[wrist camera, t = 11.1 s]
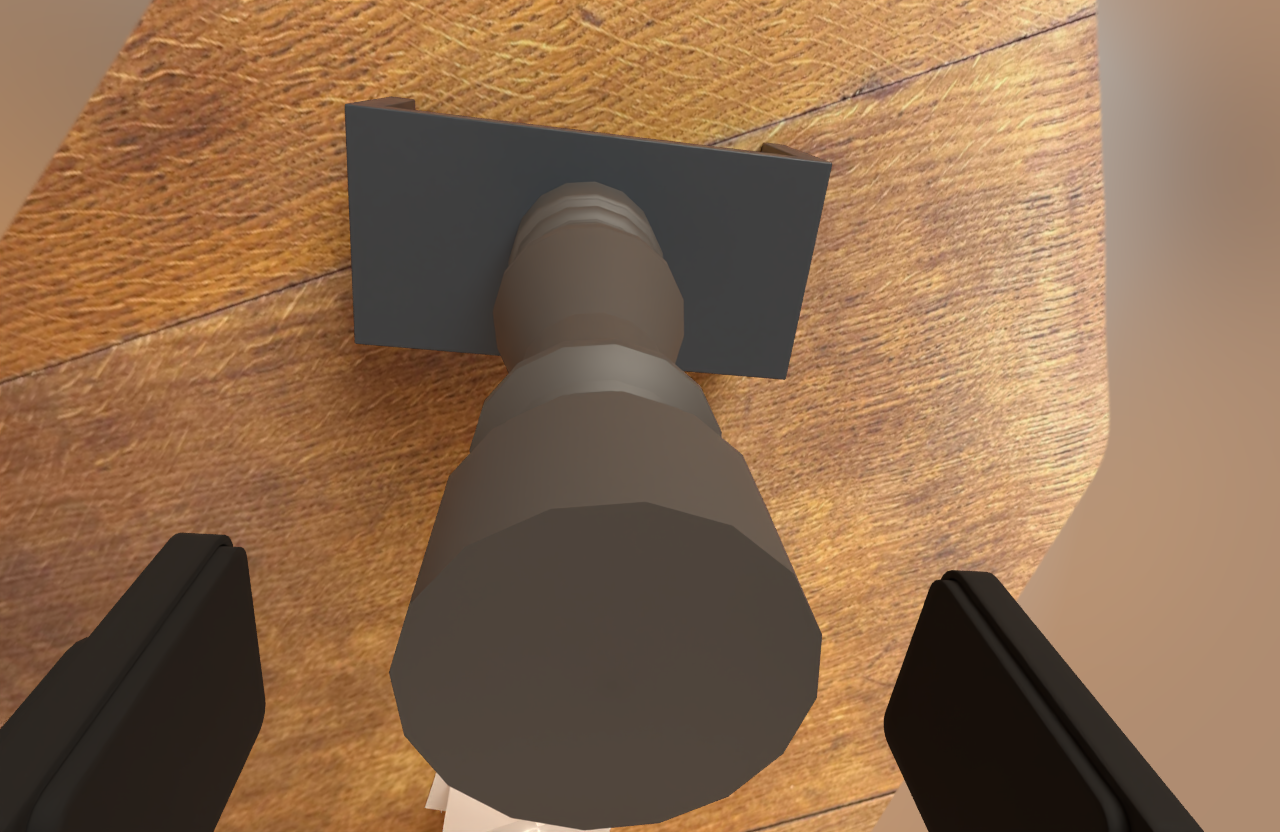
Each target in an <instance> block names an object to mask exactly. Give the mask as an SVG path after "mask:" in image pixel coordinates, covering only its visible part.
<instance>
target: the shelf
mask: <svg viewBox="0 0 1280 832" xmlns="http://www.w3.org/2000/svg"><path fill="white" fill-rule="evenodd" d="M345 125H346V149H347V173H348V196H349V220H350V243H351V267H352V290H353V314H354V337H355V343H356V344H365V345H377V346H389V347H401V348H413V349H425V350H437V351H449V352H461V353H473V354H485V355H496V356H501V355H500V353H499V350H498V348H497V342H496V334H495V326H494V319H493V308H494V305H495V302H496V298H497V295H498V291H499V288H500V285H501V281H502V278H503V275H504V272H505V270H506V269H507V268H508V267H509V265H508V261H509V258H510V255H511V251H512V248H513V244H514V241H515V238H516V234H517V231H518V228H519V226H520V223H521V220H522V217H523V216H524V215H525V214H526V213H527V211H528V210H529V209H530V208H531V207H532V205H533V204H534V203H535V202H536V201H537V200H538V198H539V197H540V196H541V195H543V194H545V193H547V192H549V191H551V190H553V189H555V188H557V187H559V186H561V185H563V184H565V183H576V182H598V183H601V184H603V185H606V186H609V187H611V188H614V189H617V190H620V191H622V192H623V193H625V194H626V195H627V196H628V197H629V198H630V199H631V200H632V201H633V202H634V203H635V204H636V205H637V206H638V207H639V208H641V209H642V210H643V211H644V214H645V216H646V218H647V220H648V222H649V224H650V226H651V228H652V231H653V233H654V235H655V237H656V239H657V242H658V244H659V246H660V248H661V251H662V253H663V259H664V260H665V261H666V262H667V264H668V266H669V269H670V271H671V273H672V275H673V278H674V280H675V282H676V284H677V286H678V289H679V291H680V293H681V295H682V298H683V300H684V337H683V341H682V344H681V347H680V350H679V353H678V356H677V360H676V363H675V365H677V366H678V367H679V368H680V369H681V370H682V371H687V372H699V373H711V374H723V375H735V376H747V377H759V378H771V379H783V380H785V379H786V375H787V371H788V366H789V361H790V357H791V352H792V347H793V343H794V338H795V334H796V329H797V324H798V320H799V315H800V310H801V306H802V301H803V297H804V292H805V287H806V283H807V278H808V274H809V269H810V264H811V260H812V255H813V250H814V246H815V241H816V237H817V232H818V227H819V223H820V218H821V214H822V209H823V204H824V200H825V195H826V190H827V186H828V181H829V177H830V172H831V167H832V163H831V162H828V161H825V160H823V159H820V158H817V157H815V156H812V155H809V154H807V153H804V152H801V151H799V150H796V149H793V148H791V147H788V146H785V145H779V144H771V143H763V146H762V152H755V151H747V150H739V149H731V148H722V147H714V146H706V145H698V144H689V143H681V142H673V141H665V140H656V139H648V138H640V137H632V136H624V135H615V134H607V133H599V132H591V131H582V130H574V129H566V128H558V127H550V126H541V125H533V124H525V123H517V122H508V121H500V120H492V119H484V118H475V117H467V116H459V115H451V114H443V113H434V112H426V111H418V110H415V100H414V99H406V98H398V97H386V98H380V99H373V100H367V101H361V102H354V103H349V104H345Z"/></svg>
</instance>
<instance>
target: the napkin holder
mask: <svg viewBox="0 0 1280 832" xmlns="http://www.w3.org/2000/svg"><path fill="white" fill-rule="evenodd" d="M425 808H429V809H435V810H441V813H442V811H446V814H445V820H444V826H443V832H609V831H610V829H611V828H604V829H594V830H579V829H573V828H567V827H561V826H555V825H549V824H543V823H538V822H532V821H526V820H520V819H514V818H510V817H508V816H506V815H504V814H502V813H500V812H499V811H497V810H495V809H493V808H491V807H489V806H487V805H485V804H483V803H481V802H479V801H477V800H475V799H473V798H471V797H469V796H467V795H465V794H463V793H461V792H460V791H458V790H456V789H454V788H452V787H450V786H448V785H447V784H446V783H445V782H444V780H443V779H442V778H441V777H440V776H439V775H438V773H437V772H436V775H435V779H434V782H433V785H432V788H431V791H430V794H429V797H428V800H427V803H426V806H425Z"/></svg>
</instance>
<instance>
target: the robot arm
mask: <svg viewBox="0 0 1280 832" xmlns="http://www.w3.org/2000/svg"><path fill="white" fill-rule="evenodd" d="M264 714H265V694H264V686H263V678H262V670H261V662H260V655H259V647H258V639H257V631H256V623H255V616H254V608H253V600H252V592H251V584H250V576H249V569H248V561H247V555H246V552H245V550H244V548H242V547H233V544H232V541H231V539H230V538H229V537H228V536H226V535H216V534H195V533H178V534H175V535H174V536H173V537H172V538H170V539H169V541H168V542H167V543H166V544H165V545H164V547H163V548H162V549H161V550H160V551H159V553H158V554H157V555H156V556H155V558H154V559H153V560H152V561H151V562H150V564H149V565H148V566H147V567H146V568H145V570H144V571H143V572H142V573H141V574H140V576H139V577H138V578H137V579H136V580H135V582H134V583H133V584H132V585H131V586H130V588H129V589H128V590H127V591H126V592H125V594H124V595H123V596H122V597H121V598H120V600H119V601H118V602H117V603H116V605H115V606H114V607H113V608H112V609H111V611H110V612H109V613H108V614H107V615H106V617H105V618H104V619H103V620H102V621H101V623H100V624H99V625H98V626H97V627H96V629H95V630H94V631H93V632H92V633H91V635H90V636H89V637H87V638H84V639H82V640H80V641H78V642H76V643H75V644H74V645H73V646H72V647H71V648H70V649H69V650H67V651H66V652H65V654H64V655H63V656H62V657H61V658H60V659H59V661H58V662H57V663H56V664H55V665H54V667H53V668H52V669H51V670H50V671H49V672H48V674H47V675H46V676H45V677H44V678H43V679H42V681H41V682H40V683H39V684H38V685H37V687H36V688H35V689H34V690H33V691H32V692H31V694H30V695H29V696H28V697H27V698H26V700H25V701H24V702H23V703H22V704H21V705H20V707H19V708H18V709H17V710H16V711H15V713H14V714H13V715H12V716H11V717H10V718H9V720H8V721H7V722H6V723H5V724H4V726H3V727H2V728H1V729H0V832H214V829H215V827H216V825H217V823H218V821H219V819H220V816H221V814H222V812H223V810H224V808H225V806H226V803H227V801H228V799H229V797H230V795H231V793H232V790H233V788H234V786H235V784H236V782H237V780H238V777H239V775H240V773H241V771H242V769H243V766H244V764H245V762H246V760H247V758H248V756H249V753H250V751H251V749H252V747H253V745H254V743H255V740H256V738H257V736H258V734H259V732H260V729H261V726H262V723H263V719H264ZM884 732H885V737H886V740H887V743H888V745H889V747H890V749H891V751H892V754H893V756H894V758H895V760H896V762H897V764H898V767H899V769H900V771H901V773H902V775H903V777H904V780H905V782H906V784H907V786H908V788H909V790H910V793H911V795H912V796H913V799H914V801H915V803H916V806H917V808H918V810H919V812H920V814H921V816H922V819H923V820H924V823H925V825H926V827H927V829H928V831H929V832H1204V831H1203V830H1202V829H1201V827H1200V826H1199V825H1198V824H1197V822H1196V821H1195V820H1194V819H1193V817H1192V816H1191V815H1190V814H1189V813H1188V811H1187V810H1186V809H1185V808H1184V806H1183V805H1182V804H1181V803H1180V802H1179V800H1178V799H1177V798H1176V797H1175V795H1174V794H1173V793H1172V792H1171V791H1170V789H1169V788H1168V787H1167V786H1166V784H1165V783H1164V782H1163V781H1162V779H1161V778H1160V777H1159V776H1158V775H1157V773H1156V772H1155V771H1154V770H1153V768H1152V767H1151V766H1150V765H1149V764H1148V762H1147V761H1146V760H1145V759H1144V758H1143V756H1142V755H1141V754H1140V753H1139V751H1138V750H1137V749H1136V748H1135V746H1134V745H1133V744H1132V743H1131V742H1130V741H1129V739H1128V738H1127V737H1126V735H1125V734H1124V733H1123V732H1122V731H1121V729H1120V728H1119V727H1118V726H1117V724H1116V723H1115V722H1114V721H1113V719H1112V718H1111V717H1110V716H1109V715H1108V713H1107V712H1106V711H1105V710H1104V709H1103V707H1102V706H1101V705H1100V704H1099V702H1098V701H1097V700H1096V699H1095V697H1094V696H1093V695H1092V694H1091V693H1090V691H1089V690H1088V689H1087V688H1086V687H1085V685H1084V684H1083V683H1082V682H1081V680H1080V679H1079V678H1078V677H1077V675H1075V673H1074V672H1073V671H1072V669H1071V668H1070V667H1069V666H1068V664H1067V663H1066V662H1065V661H1064V660H1063V658H1062V657H1061V656H1060V655H1059V653H1058V652H1057V651H1056V650H1055V648H1054V647H1053V646H1052V645H1051V644H1050V642H1049V641H1048V640H1047V639H1046V638H1045V636H1044V635H1043V634H1042V633H1041V631H1040V630H1039V629H1038V628H1037V626H1036V625H1035V624H1034V623H1033V622H1032V621H1031V619H1030V618H1029V617H1028V615H1027V614H1026V613H1025V612H1024V611H1023V609H1022V608H1021V607H1020V606H1019V604H1018V603H1017V602H1016V601H1015V600H1014V598H1013V597H1012V596H1011V595H1010V593H1009V592H1008V591H1007V590H1006V588H1005V587H1004V586H1003V585H1002V584H1001V582H1000V581H999V580H998V579H997V578H996V577H995V576H994V575H993V574H992V573H988V572H979V571H958V570H951V571H947V572H946V573H945V574H944V575H943V576H942V578H941V580H936V581H934V582H933V583H932V585H931V587H930V589H929V592H928V594H927V597H926V600H925V603H924V606H923V608H922V611H921V614H920V617H919V620H918V622H917V625H916V628H915V631H914V634H913V636H912V639H911V642H910V645H909V648H908V650H907V653H906V656H905V659H904V662H903V664H902V667H901V670H900V673H899V676H898V678H897V681H896V684H895V687H894V690H893V692H892V695H891V698H890V701H889V704H888V706H887V709H886V712H885V716H884Z"/></svg>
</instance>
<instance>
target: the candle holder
mask: <svg viewBox="0 0 1280 832" xmlns="http://www.w3.org/2000/svg"><path fill="white" fill-rule="evenodd" d="M508 265H509V267H508V268H507V269H506V270H505V272H504V275H503V278H502V281H501V285H500V288H499V291H498V295H497V298H496V302H495V305H494V308H493V319H494V326H495V334H496V342H497V348H498V350H499V353H500V355H501V357H502V359H503V361H504V363H505V366H506V368H507V370H508V372H509V374H508V375H507V376H506V377H505V378H504V379H503V380H502V382H501V383H500V384H499V385H498V386H497V387H496V388H495V389H494V390H493V392H492V393H491V394H490V395H489V396H488V397H487V398H486V399H485V401H484V404H483V407H482V411H481V414H480V417H479V420H478V424H477V427H476V430H475V433H474V437H473V440H472V443H471V447H470V454H469V455H468V456H467V457H466V458H465V459H464V460H463V461H462V463H461V464H460V465H459V466H458V467H457V468H456V469H455V470H454V471H453V472H452V473H451V475H450V476H449V478H448V481H447V484H446V487H445V491H444V494H443V497H442V500H441V504H440V507H439V510H438V513H437V516H436V520H435V523H434V526H433V529H432V533H431V536H430V539H429V542H428V546H427V549H426V552H425V555H424V559H423V562H422V565H421V568H420V572H419V575H418V578H417V581H416V585H415V588H414V591H413V594H412V597H411V601H410V604H409V607H408V611H407V614H406V617H405V621H404V624H403V627H402V631H401V634H400V637H399V641H398V644H397V647H396V651H395V654H394V657H393V661H392V664H391V667H390V671H389V674H390V678H391V682H392V687H393V691H394V695H395V699H396V703H397V707H398V711H399V716H400V720H401V724H402V728H403V732H404V736H405V737H406V738H407V739H408V740H409V741H410V743H411V744H412V745H413V746H414V747H415V748H416V749H417V751H418V752H419V753H420V754H421V755H422V756H423V757H424V759H425V760H426V761H427V762H428V763H429V764H430V765H431V767H432V768H433V769H434V770H435V771H436V772H437V773H438V775H439V776H440V777H441V778H442V779H443V780H444V782H445V783H446V784H447V785H448V786H450V787H452V788H454V789H456V790H458V791H460V792H461V793H463V794H465V795H467V796H469V797H471V798H473V799H475V800H477V801H479V802H481V803H483V804H485V805H487V806H489V807H491V808H493V809H495V810H497V811H499V812H500V813H502V814H504V815H506V816H508V817H510V818H514V819H520V820H526V821H532V822H538V823H543V824H549V825H555V826H561V827H567V828H573V829H579V830H594V829H604V828H614V827H624V826H634V825H644V824H654V823H661V822H663V821H666V820H668V819H671V818H674V817H676V816H679V815H681V814H684V813H687V812H689V811H692V810H694V809H697V808H700V807H702V806H705V805H708V804H710V803H713V802H715V801H718V800H721V799H723V798H726V797H728V796H729V795H731V794H732V793H733V792H735V791H736V790H737V789H738V788H740V787H741V786H742V785H744V784H745V783H746V782H747V781H749V780H750V779H751V778H753V777H754V776H755V775H756V774H758V773H759V772H760V771H761V770H763V769H764V768H765V767H767V766H768V765H769V764H770V763H772V762H773V761H774V760H776V759H777V758H778V757H779V756H781V755H782V754H783V753H784V751H785V750H786V748H787V746H788V745H789V743H790V741H791V740H792V738H793V736H794V735H795V733H796V731H797V730H798V728H799V726H800V725H801V723H802V721H803V720H804V718H805V716H806V715H807V713H808V711H809V710H810V708H811V706H812V705H813V703H814V702H815V700H816V698H817V689H818V677H819V665H820V654H821V642H822V633H821V631H820V629H819V627H818V624H817V622H816V620H815V617H814V615H813V613H812V611H811V608H810V606H809V604H808V601H807V599H806V597H805V595H804V592H803V590H802V588H801V585H800V583H799V581H798V578H797V576H796V574H795V572H794V569H793V567H792V565H791V562H790V560H789V558H788V556H787V553H786V551H785V549H784V546H783V544H782V542H781V539H780V537H779V535H778V533H777V530H776V528H775V526H774V523H773V521H772V519H771V517H770V514H769V512H768V510H767V507H766V505H765V503H764V501H763V499H762V496H761V494H760V492H759V490H758V488H757V485H756V483H755V481H754V479H753V477H752V475H751V472H750V470H749V468H748V466H747V464H746V461H745V459H744V457H743V455H742V454H741V453H740V452H738V451H737V450H736V449H735V448H734V447H732V446H731V445H730V444H729V443H728V442H726V441H725V440H724V439H723V438H722V437H721V430H720V427H719V425H718V423H717V421H716V419H715V417H714V415H713V412H712V410H711V408H710V406H709V404H708V402H707V399H706V397H705V395H704V393H703V391H702V389H701V387H700V385H699V384H698V383H696V382H695V381H694V380H693V379H692V378H691V377H689V376H688V375H687V374H686V373H685V372H684V371H682V370H681V369H680V368H679V367H678V366H677V365H675V363H676V360H677V356H678V353H679V350H680V347H681V344H682V341H683V337H684V300H683V298H682V295H681V293H680V291H679V289H678V286H677V284H676V282H675V280H674V278H673V275H672V273H671V271H670V269H669V266H668V264H667V262H666V261H665V260H664V259H663V253H662V251H661V248H660V246H659V244H658V242H657V239H656V237H655V235H654V233H653V231H652V228H651V226H650V224H649V222H648V220H647V218H646V216H645V214H644V211H643V210H642V209H641V208H639V207H638V206H637V205H636V204H635V203H634V202H633V201H632V200H631V199H630V198H629V197H628V196H627V195H626V194H625V193H623V192H622V191H620V190H617V189H614V188H611V187H609V186H606V185H603V184H601V183H598V182H576V183H565V184H563V185H561V186H559V187H557V188H555V189H553V190H551V191H549V192H547V193H545V194H543V195H541V196H540V197H539V198H538V200H537V201H536V202H535V203H534V204H533V205H532V207H531V208H530V209H529V210H528V211H527V213H526V214H525V215H524V216H523V217H522V220H521V223H520V226H519V228H518V231H517V234H516V238H515V241H514V244H513V248H512V251H511V255H510V258H509V261H508Z"/></svg>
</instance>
